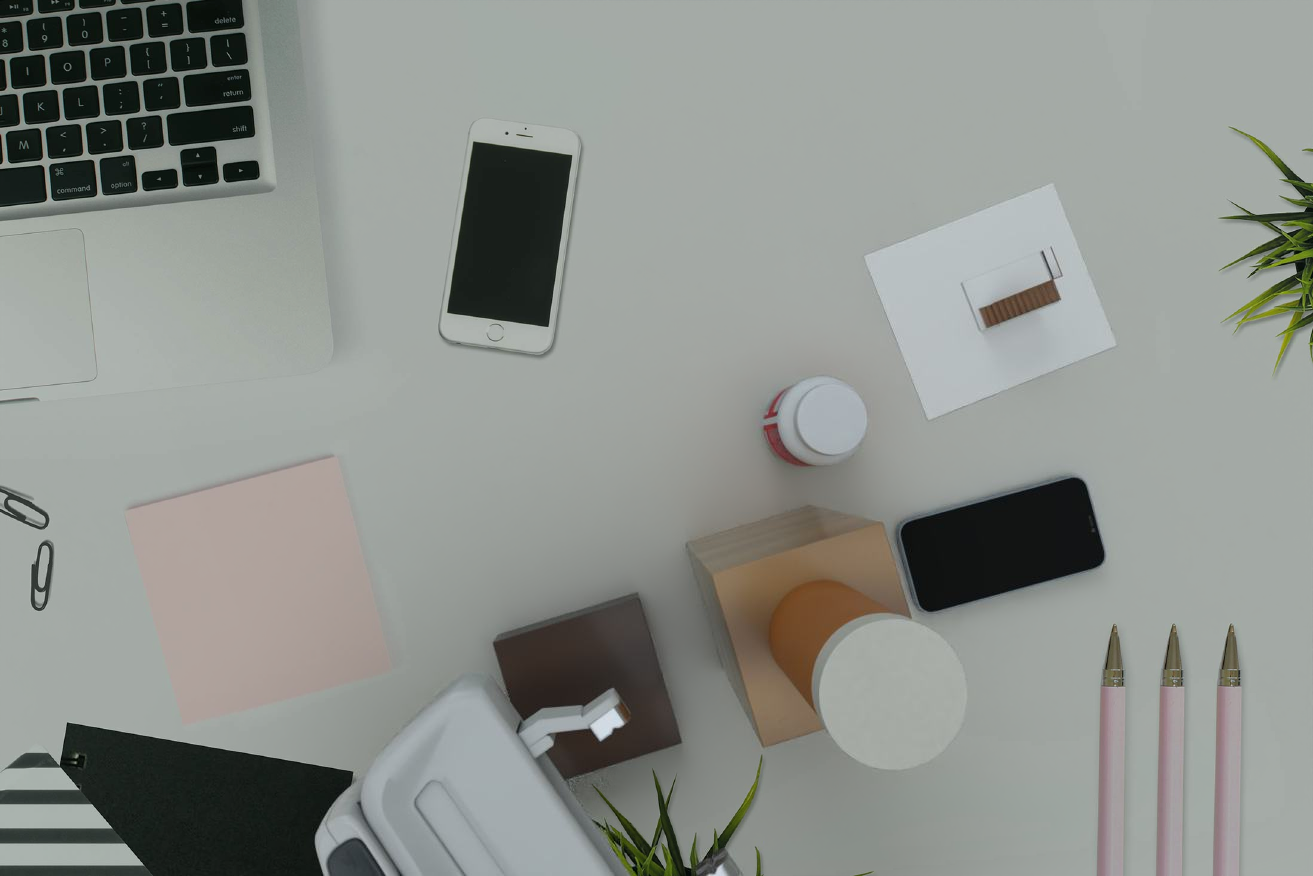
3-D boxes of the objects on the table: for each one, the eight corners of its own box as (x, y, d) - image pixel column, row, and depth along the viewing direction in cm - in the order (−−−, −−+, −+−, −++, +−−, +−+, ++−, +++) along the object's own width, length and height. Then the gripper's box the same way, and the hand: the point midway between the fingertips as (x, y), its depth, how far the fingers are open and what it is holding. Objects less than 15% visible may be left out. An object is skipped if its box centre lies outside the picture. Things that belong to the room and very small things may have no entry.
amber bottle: (892, 672, 53) (986, 745, 40) (785, 705, 53) (843, 790, 39) (860, 564, 53) (943, 600, 40) (753, 596, 53) (800, 644, 39)
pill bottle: (836, 469, 73) (875, 471, 62) (757, 462, 73) (781, 462, 62) (843, 389, 74) (883, 376, 62) (764, 381, 73) (790, 367, 62)
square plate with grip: (1052, 182, 75) (1087, 160, 69) (1117, 345, 74) (1157, 336, 69) (863, 256, 74) (883, 239, 68) (928, 420, 74) (953, 417, 68)
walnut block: (679, 731, 72) (682, 743, 69) (539, 775, 72) (535, 789, 69) (637, 591, 73) (638, 597, 70) (497, 634, 72) (492, 642, 69)
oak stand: (848, 630, 73) (935, 694, 53) (723, 669, 73) (763, 748, 53) (810, 504, 73) (883, 521, 53) (685, 542, 73) (710, 574, 53)
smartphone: (895, 522, 73) (1084, 471, 73) (891, 521, 73) (1078, 471, 74) (920, 617, 72) (1109, 566, 73) (917, 615, 73) (1103, 564, 74)
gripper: (559, 1187, 42) (816, 999, 43) (293, 804, 42) (554, 621, 43) (567, 1092, 48) (790, 930, 49) (335, 759, 48) (562, 600, 49)
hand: (678, 783), depth 46 cm, fingers open, 8 cm apart
